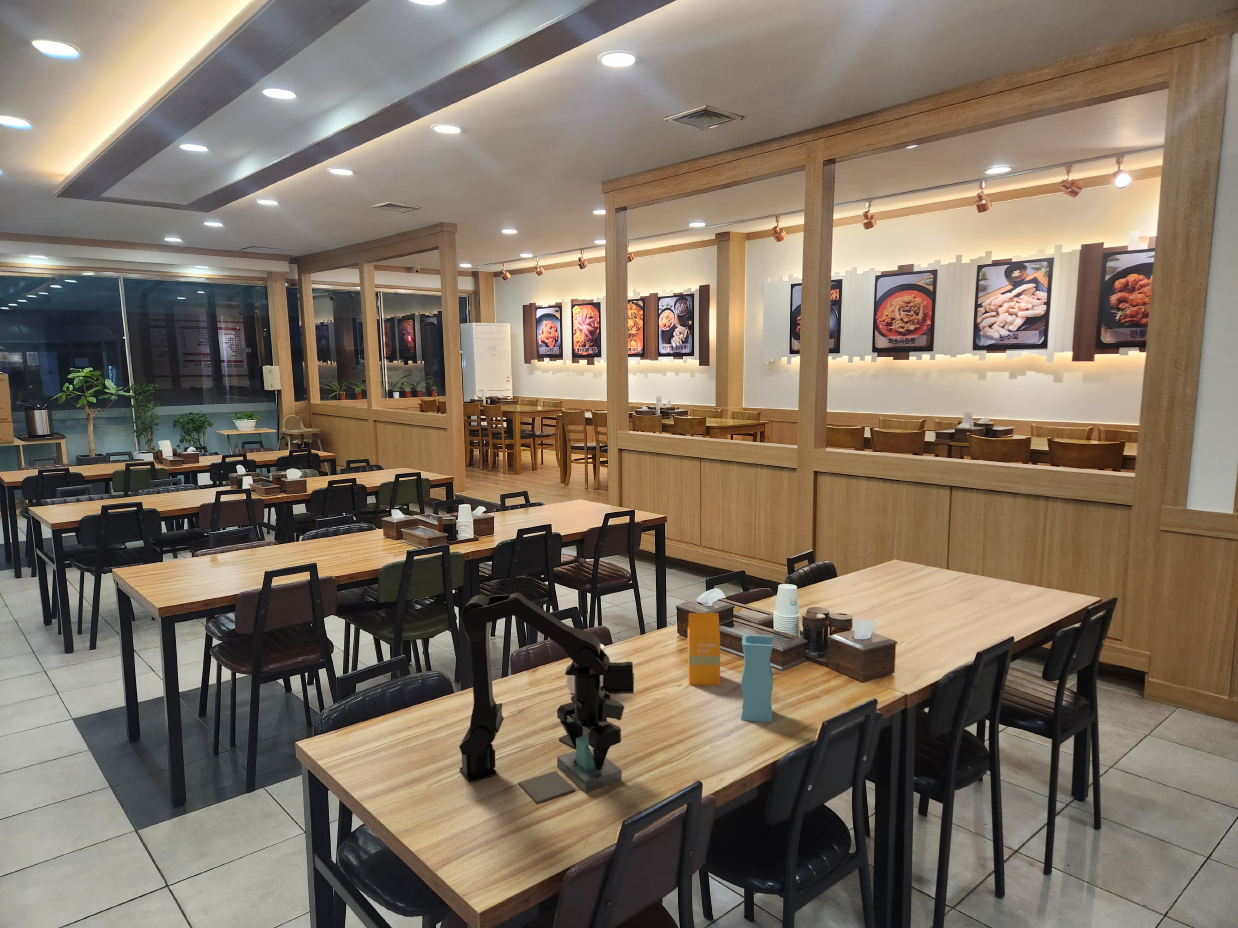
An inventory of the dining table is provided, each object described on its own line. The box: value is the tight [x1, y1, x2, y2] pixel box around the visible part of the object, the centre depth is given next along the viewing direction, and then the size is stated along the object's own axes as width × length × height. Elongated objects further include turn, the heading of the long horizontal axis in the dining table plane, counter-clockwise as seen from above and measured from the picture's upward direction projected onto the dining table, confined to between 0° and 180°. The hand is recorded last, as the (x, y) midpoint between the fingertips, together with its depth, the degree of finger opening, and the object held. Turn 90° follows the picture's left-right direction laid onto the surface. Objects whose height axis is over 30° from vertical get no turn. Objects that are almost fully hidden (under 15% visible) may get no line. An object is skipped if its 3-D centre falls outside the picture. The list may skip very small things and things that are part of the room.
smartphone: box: [558, 720, 621, 750], centre depth 186 cm, size 7×1×15 cm
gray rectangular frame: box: [556, 750, 623, 794], centre depth 167 cm, size 9×13×2 cm
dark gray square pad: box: [517, 770, 576, 804], centre depth 162 cm, size 9×9×1 cm
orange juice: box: [687, 612, 721, 686], centre depth 218 cm, size 8×9×20 cm
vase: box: [740, 634, 774, 723], centre depth 195 cm, size 8×8×20 cm
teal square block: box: [576, 735, 596, 771], centre depth 167 cm, size 4×4×8 cm
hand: (588, 760), depth 167 cm, fingers open, 9 cm apart
